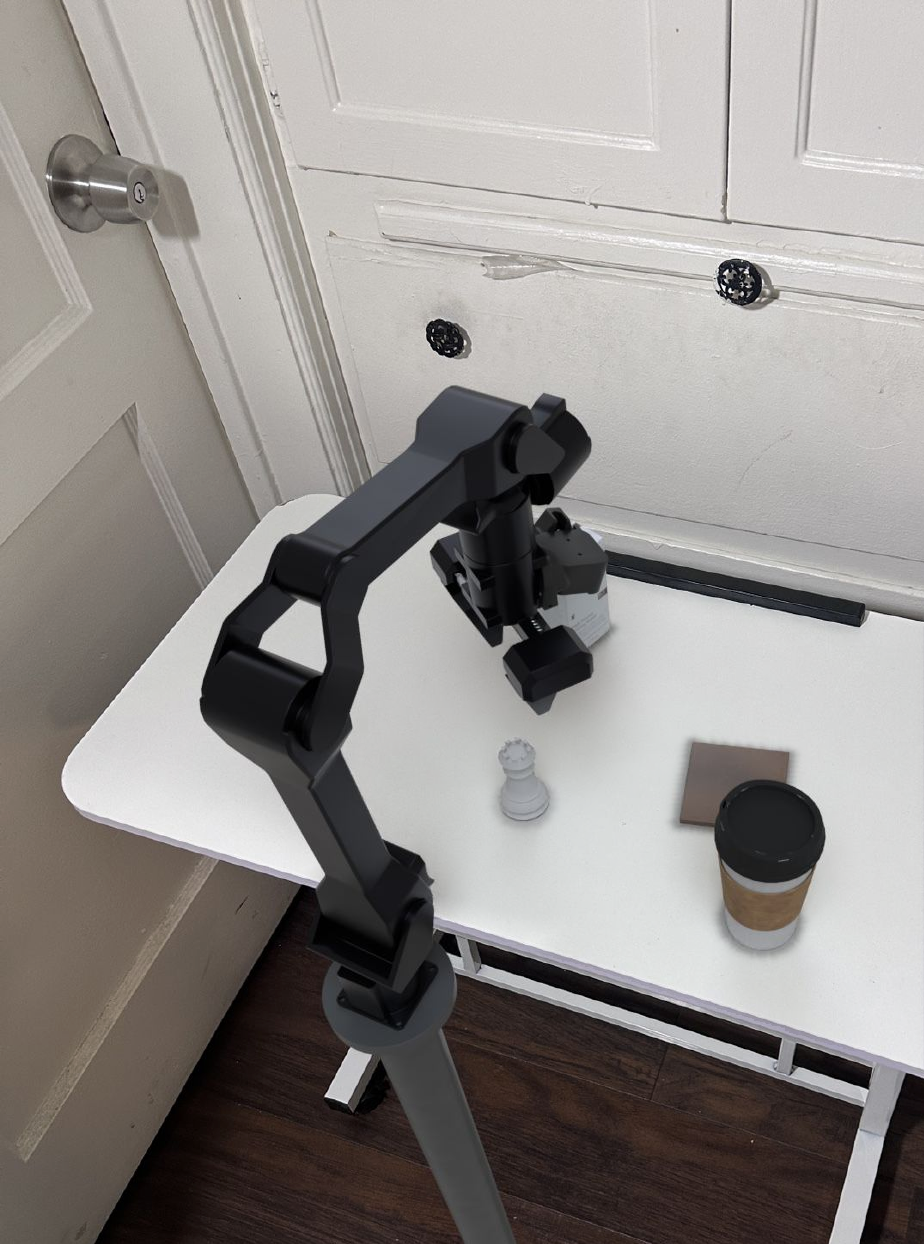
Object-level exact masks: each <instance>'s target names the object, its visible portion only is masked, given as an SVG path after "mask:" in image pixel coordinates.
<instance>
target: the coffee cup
mask: <svg viewBox="0 0 924 1244" xmlns="http://www.w3.org/2000/svg"><path fill="white" fill-rule="evenodd" d="M713 829H714V831H713V832H714V833H713V835H714V839H713V840H714V844H715V848H716V849H715V850H716V851H717V856H718V857H717V858H718V866H719V873H720V880H721V882H720V883H721V889H722V894H723V895H722V896H723V902H724V912H725V913H724V914H725V922H726V927H727V929H728V931H729V933H730V935H731V936H732V938H733V939H735V940H736V941H737V942H738V943H739V944H740V945H743V946H744V947H746V948H749V949H751V950H757V951H769V950H773V949H777V948H780V947H781V946H783V945H784V944H786V943H787V942H788V941H789V940H790V939H791V938H792V936H793V935H794V932H795V930H796V929H797V925H798V922H799V918H800V916H801V915H800V914H801V911H802V909H803V906H804V903H805V900H806V897H807V894H808V891H809V890H810V889H809V888H810V885H811V882H812V880H813V876H814V874H815V871H816V868H817V863H818V862H819V861H820V859H821V857H822V855H823V852H824V849H825V844H826V838H827V835H826V827H825V824H824V821H823V816H822V812H821V809H820V808H819V807H818V805H817V803H816V802H815V801H814V799H812V798H811V797H810V796H809V795H808V794H807V793H805V791H803V790H801V789H799V788H797V787H796V786H793V785H792V784H789V783H787V782H786V783H783V782H779V781H775V780H766V779H760V780H751V781H746V782H744V783H742V784H739V785H738V786H736V787H735V788H733V789H732V790H731V791H730V792H729V793H728V794H727V795H726V796H725V798H724V799H723V800H722V802H721V803H720V808H719V813H718V815H717V817H716V821H715V825H714V827H713Z"/></svg>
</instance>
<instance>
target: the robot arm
mask: <svg viewBox="0 0 924 1244" xmlns="http://www.w3.org/2000/svg"><path fill="white" fill-rule="evenodd" d="M566 399H567V398H564V397H560V396H556V395H553V394H550V393H545V392H542V394H541V395H540V396H539V397H538V398H537V399H536V400H535V401H534V403H533V405H532V406H531V408H529V406H528V405H526V404H524V403H520V402H516V401H513V400H510V399H506V398H502V397H499V396H496V395H493V394H489V393H485V392H482V391H478V390H475V389H471V388H468V387H464V386H461V385H458V384H453V385H452V384H451V385H449V386H447V387H446V388H444V389H443V390H442V391H441V392H440V393H439V394H438V395H437V396H436V397H435V398H434V400H432V401H431V402H430V404H428V406H427V407H426V408H425V409H424V410H423V411H422V412H421V413H420V415H418V417H417V418H416V421H415V432H414V440H413V441H412V443H411V444H409V446H408V447H407V448H406V449H405V450H404V451H403V452H402V453H401V454H399V455H398V456H397V457H395V458H394V459H393V460H392V461H390V462H389V463H388V464H387V465H385V466H384V467H383V468H382V469H381V470H379V471H378V472H376V474H374V475H373V476H371V477H370V478H369V479H368V480H366V481H365V482H364V483H363V484H361V485H360V486H359V487H358V488H356V489H355V490H354V491H353V492H352V493H350V494H349V495H348V496H346V497H345V498H344V499H342V501H340V502H339V503H337V504H336V505H335V506H334V507H333V508H331V509H330V510H329V511H327V512H325V514H323V516H321V517H320V518H319V519H317V520H316V521H314V523H313V524H311V525H310V526H309V527H307V528H306V529H304V530H302V531H301V532H298V533H289V534H287V535H284V536H282V538H281V539H280V540H279V541H278V542H277V543H276V545H275V546H274V548H273V550H272V553H271V555H270V558H269V560H268V563H267V566H266V569H265V572H264V575H263V578H262V581H261V582H260V583H259V584H258V585H257V586H256V587H255V588H254V589H253V590H252V591H251V592H250V593H249V594H248V595H247V596H246V597H245V598H244V599H242V601H240V603H239V604H238V605H237V606H235V608H234V609H232V611H231V612H230V613H228V615H227V616H226V617H224V619H223V622H222V623H221V625H220V629H219V631H218V635H217V637H216V640H215V643H214V646H213V649H212V652H211V655H210V659H209V661H208V663H207V666H206V669H205V672H204V675H203V678H202V682H201V686H200V694H201V696H200V697H199V701H198V702H199V710H200V714H201V716H202V719H203V722H204V723H205V724H206V725H207V726H208V728H210V730H212V732H214V733H215V734H216V735H217V737H219V738H220V739H221V740H222V741H223V742H224V743H225V744H226V745H227V746H229V747H230V748H231V749H233V750H234V751H236V752H237V753H239V754H240V755H242V756H243V757H244V758H245V759H248V761H250V762H251V763H252V764H254V765H255V766H257V767H258V768H260V769H261V770H263V771H264V772H265V773H266V774H267V775H268V777H269V779H270V780H271V782H272V784H273V786H274V787H275V789H276V791H277V792H278V795H279V796H280V798H281V800H282V801H283V803H284V805H285V807H286V809H287V810H288V812H289V813H290V815H291V817H292V819H293V821H294V822H295V824H296V826H297V828H298V829H299V831H300V833H301V835H302V837H303V838H304V840H305V841H306V844H307V845H308V847H309V849H310V851H311V852H312V854H313V856H314V857H315V859H316V861H317V863H318V864H319V866H320V868H321V870H322V871H323V873H324V876H323V877H322V879H321V880H320V882H319V883H318V885H316V887H315V894H316V897H317V899H318V900H317V901H318V902H317V905H316V909H315V912H314V915H313V919H312V923H311V926H310V930H309V933H308V937H307V940H306V943H305V949H306V950H309V951H311V952H313V953H314V954H316V955H317V954H318V955H319V956H322V957H323V958H325V959H327V960H329V961H331V962H336V963H338V964H340V965H341V967H340V969H339V970H338V972H337V976H338V978H339V980H340V982H341V984H342V986H343V989H342V990H341V992H340V993H339V995H338V996H337V999H336V1001H337V1003H338V1005H339V1006H341V1007H343V1008H346V1009H348V1010H350V1011H353V1012H355V1013H357V1014H359V1015H362V1016H364V1017H366V1018H369V1019H371V1020H373V1021H376V1022H378V1023H380V1024H383V1025H385V1026H387V1027H390V1028H392V1029H394V1030H397V1031H400V1030H402V1029H404V1027H405V1026H406V1024H407V1022H408V1021H409V1019H410V1018H411V1016H412V1014H413V1013H414V1011H415V1009H416V1008H417V1006H418V1004H419V1003H420V1001H421V999H422V998H423V996H424V995H425V993H426V991H427V990H428V988H429V986H430V985H431V983H432V981H433V980H434V978H435V976H436V975H437V973H438V967H437V965H436V964H434V963H432V962H429V961H427V960H425V958H426V957H427V955H428V954H429V952H430V951H431V949H432V944H433V939H434V925H435V924H434V920H435V906H434V896H433V891H432V889H431V886H432V885H433V884H434V883H435V879H434V878H431V877H430V875H429V874H428V870H427V866H426V865H427V864H426V861H425V860H424V859H423V857H422V856H421V854H418V853H416V852H414V851H412V850H409V849H407V848H405V847H403V846H400V845H398V844H395V843H394V842H391V841H388V840H387V839H385V838H383V837H382V835H381V833H380V831H379V829H378V827H377V825H376V822H375V820H374V819H373V815H372V814H371V811H370V810H369V808H368V806H367V804H366V801H365V799H364V797H363V794H362V792H361V791H360V788H359V786H358V784H357V782H356V780H355V778H354V775H353V774H352V771H351V770H350V769H351V768H350V767H349V765H348V763H347V760H346V759H345V757H344V754H343V752H342V748H343V746H344V744H345V743H346V741H347V739H348V738H349V735H350V734H351V733H352V731H353V729H354V727H353V722H352V717H351V714H350V713H351V710H352V708H353V705H354V702H355V700H356V696H357V694H358V691H359V688H360V685H361V682H362V679H363V677H364V674H365V662H364V654H363V653H364V652H363V646H362V637H361V630H360V629H361V628H360V622H359V616H360V613H361V610H362V607H363V604H364V601H365V598H366V595H367V593H368V591H369V586H370V585H372V583H373V582H374V581H376V580H377V579H378V578H379V577H380V576H382V574H383V573H384V572H386V571H387V570H388V569H389V568H390V567H391V566H393V565H394V564H395V563H396V562H397V561H399V560H400V559H401V557H403V555H405V554H406V553H407V552H408V551H409V550H410V549H412V547H414V546H415V545H416V544H418V543H419V541H420V540H421V539H423V538H424V537H425V536H426V535H427V534H428V533H430V532H431V531H432V530H433V529H434V528H435V527H436V526H437V525H439V524H441V525H445V526H448V527H450V528H454V529H457V530H458V531H457V532H454V533H451V534H449V535H446V536H444V537H441V538H439V539H437V540H436V541H435V543H434V544H433V546H432V547H431V549H430V550H429V557H430V563H431V566H432V569H433V570H434V572H435V574H436V575H437V576H438V578H439V579H440V583H441V584H442V585H443V587H444V588H445V591H447V593H448V594H449V596H450V597H451V598H452V600H453V601H454V603H456V605H457V606H458V607H459V609H460V610H461V611H462V613H463V614H464V615H465V616H466V617H467V619H468V620H469V622H471V624H472V625H473V627H474V628H475V629H476V631H478V633H479V634H480V635H481V637H482V638H483V639H484V640H485V642H486V643H487V644H488V646H489V647H490V648H496V647H498V646H500V645H502V644H503V642H504V627H512V628H513V630H514V631H515V632H516V633H517V635H518V636H519V638H520V639H521V641H519V642H518V641H517V642H516V643H514V644H512V645H510V647H509V648H508V650H507V651H506V652H505V654H504V655H503V656H502V664H503V669H504V671H505V674H504V676H505V678H506V679H507V681H508V682H509V684H510V685H511V686H512V688H513V689H514V691H515V692H516V694H517V695H518V697H519V698H520V699H521V700H522V701H523V702H525V703H526V704H527V705H528V706H529V707H530V708H531V709H532V711H533V712H534V713H535V714H536V715H537V716H542V715H545V714H546V713H549V712H550V710H551V708H552V706H553V704H554V701H555V698H556V697H557V693H560V692H561V691H565V690H566V689H569V688H572V687H573V686H575V685H578V684H580V683H582V682H584V681H587V680H589V679H591V678H592V676H593V674H594V672H595V670H594V669H595V668H594V655H593V653H592V652H591V651H590V649H589V647H588V648H587V647H586V645H585V644H584V643H583V641H582V640H581V639H580V637H579V636H578V635H577V633H576V632H575V631H574V629H573V628H570V627H567V626H565V625H559V626H557V627H554V628H552V629H551V628H550V626H549V625H548V624H547V622H546V621H545V620H544V618H543V617H542V616H541V614H540V613H539V608H543V610H545V611H546V610H548V609H551V608H553V607H555V606H558V599H557V595H572V594H582V593H588V594H589V595H590V594H596V593H598V592H599V590H600V586H601V583H602V580H603V577H604V574H605V570H606V571H607V568H608V563H609V561H610V558H609V555H608V554H607V552H606V551H605V552H604V551H603V549H602V548H601V547H600V546H599V545H598V543H597V542H596V541H595V540H594V539H593V537H592V536H591V535H590V534H589V533H587V532H586V531H583V530H582V529H581V528H580V527H579V526H578V524H579V523H578V524H575V525H573V528H572V526H571V523H572V521H571V519H570V518H569V517H568V515H567V514H566V512H564V510H563V509H562V508H561V507H560V506H559V507H558V506H557V507H546V508H545V509H544V511H543V512H542V514H540V516H539V517H538V519H537V520H536V521H535V522H534V514H533V513H534V512H533V506H538V507H541V506H549V505H551V503H552V502H553V501H554V500H555V499H556V497H558V495H559V494H560V493H561V491H562V490H564V488H565V486H567V484H568V483H569V482H570V481H571V479H572V478H573V477H574V476H575V475H576V473H577V472H578V471H579V470H580V469H581V467H582V466H584V464H585V462H586V461H587V460H588V459H589V457H590V455H591V454H592V447H593V443H592V438H591V437H590V436H589V434H588V432H587V430H586V428H585V426H584V425H583V424H582V422H581V421H580V420H579V419H578V418H577V417H576V416H575V415H574V414H572V412H570V411H569V410H567V409H568V408H567V400H566ZM298 601H301V602H303V603H307V604H309V605H312V606H314V607H318V608H319V610H320V618H321V625H322V635H323V642H324V651H325V659H326V662H325V665H324V669H323V671H322V672H321V671H319V670H317V669H314V668H312V667H309V666H306V665H304V664H301V663H299V662H296V661H294V660H291V659H289V658H287V657H283V656H281V655H279V654H276V653H274V652H271V651H269V650H265V649H263V648H260V644H261V641H262V639H263V635H264V634H265V633H266V632H267V631H268V630H269V629H270V628H271V627H272V626H273V625H274V624H275V623H276V622H277V621H278V620H279V619H280V618H281V617H282V616H283V615H284V614H285V613H286V612H287V611H288V610H289V609H290V608H291V607H292V606H294V604H296V602H298ZM431 968H434V969H435V970H434V971H430V969H431ZM343 998H344V999H345V1000H344V1001H343V1002H341V999H343ZM399 1022H400V1023H401V1025H400V1026H396V1024H397V1023H399Z"/></svg>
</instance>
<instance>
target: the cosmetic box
mask: <svg viewBox="0 0 924 1244" xmlns="http://www.w3.org/2000/svg"><path fill="white" fill-rule="evenodd" d="M575 524H578V526H579V527H580V528H581V529H582V530H583V531H586V532H587V533H589V534H590V535H591V536H592V537H593V539H594V540H595V541H596V542H597V543H598V545H599V546H600V547H601V548H602V549H603V551H604V552H605V553H606V551H605V540H604V539H605V538H604V537H603V536H601V535H600V534H598V533H596V532H594V531H592V530H591V529H589V528H587V527H585V526H584V525H582V524H579V523H578V522H576V521H571V526H572V528H573V525H575ZM607 578H608V577H607V569H606V570H605V574H604V577H603V580H602V583H601V586H600V590H599V592H598V593H596V594H590V595H589V594H588V593H582V594H572V595H557V599H558V606H555V607H553V608H551V609H548V610H546V611H545V610H543V608H539V609H538V612H539V613H540V614H541V616H542V617H543V618H544V620H545V621H546V622H547V624H548V625H549V626H550V628H551V629H552V628H554V627H557V626H559V625H565V626H567V627H570V628H573V629H574V631H575V632H576V633H577V635H578V636H579V637H580V639H581V640H582V641H583V643H584V644H585V645H586V647H587V648H588V649H589V648H590V647H591V646H592V645H593V644H594V643H596V642H597V641H599V640H600V638H602V637H603V636H604V635H605V634H607V632H608V631H609V630H610V629H611V622H610V621H611V620H610V607H609V596H608V595H609V593H608V580H607Z"/></svg>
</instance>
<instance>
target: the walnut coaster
mask: <svg viewBox="0 0 924 1244" xmlns="http://www.w3.org/2000/svg"><path fill="white" fill-rule="evenodd" d="M789 760H790V752H789V751H781V750H773V749H765V748H753V747H745V746H736V745H727V744H718V743H709V742H708V743H707V742H698V741H693V742H692V746H691V752H690V758H689V764H688V770H687V774H686V775H687V776H686V780H685V787H684V792H683V797H682V802H681V803H682V804H681V809H680V810H681V811H680V815H679V823H680V824H685V825H694V826H695V825H696V826H704V827H713V828H714V825H715V821H716V817H717V815H718V813H719V808H720V803H721V802H722V800H723V799H724V798H725V796H726V795H727V794H728V793H729V792H730V791H731V790H732V789H733V788H735V787H736V786H738V785H739V784H742V783H744V782H746V781H751V780H760V779H766V780H775V781H779V782H783V783H786V784H787V780H788V779H787V778H788V768H789Z"/></svg>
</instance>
